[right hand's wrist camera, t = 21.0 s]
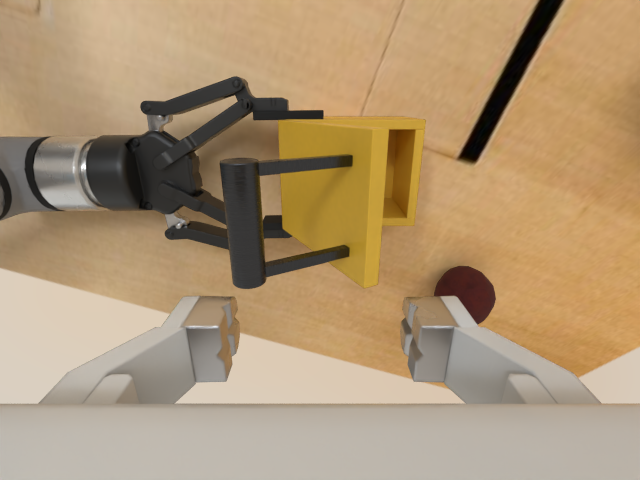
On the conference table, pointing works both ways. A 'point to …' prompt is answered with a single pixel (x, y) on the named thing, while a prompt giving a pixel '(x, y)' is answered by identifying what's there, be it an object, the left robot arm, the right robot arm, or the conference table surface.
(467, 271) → the potato
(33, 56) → the conference table surface
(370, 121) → the chest
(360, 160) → the yellow panel
